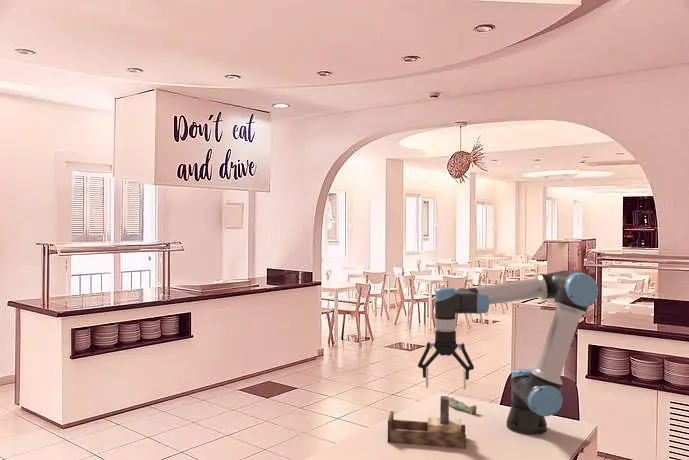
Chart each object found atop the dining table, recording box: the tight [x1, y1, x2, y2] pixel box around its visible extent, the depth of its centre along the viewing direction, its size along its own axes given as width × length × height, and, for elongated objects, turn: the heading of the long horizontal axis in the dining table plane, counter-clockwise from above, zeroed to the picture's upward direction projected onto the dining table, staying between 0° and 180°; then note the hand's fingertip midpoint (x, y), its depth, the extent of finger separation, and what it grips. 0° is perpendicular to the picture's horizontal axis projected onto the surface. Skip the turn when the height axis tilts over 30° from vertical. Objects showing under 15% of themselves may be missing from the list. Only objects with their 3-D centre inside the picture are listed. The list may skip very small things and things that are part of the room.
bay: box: [387, 410, 467, 450], centre depth 207 cm, size 28×11×8 cm, turn 79°
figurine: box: [449, 397, 477, 415], centre depth 243 cm, size 6×15×4 cm, turn 26°
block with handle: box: [427, 395, 462, 434], centre depth 206 cm, size 12×8×15 cm
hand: (445, 387), depth 206 cm, fingers open, 13 cm apart
